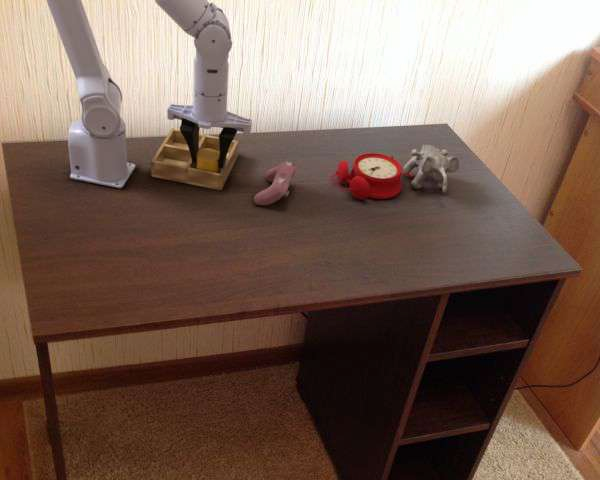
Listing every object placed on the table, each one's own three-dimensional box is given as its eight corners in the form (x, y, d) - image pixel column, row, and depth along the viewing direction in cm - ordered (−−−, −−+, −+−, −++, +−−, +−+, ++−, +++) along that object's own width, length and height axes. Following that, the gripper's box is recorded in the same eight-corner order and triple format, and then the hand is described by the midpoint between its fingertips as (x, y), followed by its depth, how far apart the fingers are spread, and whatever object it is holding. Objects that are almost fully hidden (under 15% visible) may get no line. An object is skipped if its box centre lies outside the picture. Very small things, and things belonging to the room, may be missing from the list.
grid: (151, 176, 136) (151, 161, 134) (172, 142, 145) (171, 127, 143) (221, 190, 136) (222, 175, 134) (237, 155, 145) (238, 141, 142)
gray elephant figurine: (428, 167, 150) (438, 132, 144) (468, 199, 144) (479, 162, 138) (392, 177, 146) (401, 140, 140) (431, 210, 140) (442, 173, 134)
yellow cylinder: (193, 173, 136) (193, 158, 133) (199, 161, 139) (200, 146, 136) (217, 178, 135) (217, 162, 133) (223, 165, 138) (223, 150, 136)
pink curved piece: (272, 217, 134) (292, 190, 130) (250, 202, 133) (271, 174, 128) (284, 189, 141) (304, 162, 136) (264, 175, 140) (283, 147, 135)
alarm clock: (421, 176, 140) (358, 173, 132) (407, 206, 144) (346, 204, 136) (390, 148, 146) (328, 144, 137) (378, 178, 150) (317, 175, 141)
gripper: (161, 91, 124) (162, 165, 133) (247, 108, 123) (242, 181, 133) (173, 73, 128) (174, 146, 138) (256, 89, 128) (251, 161, 138)
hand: (208, 162), depth 136 cm, fingers closed on yellow cylinder, 4 cm apart
